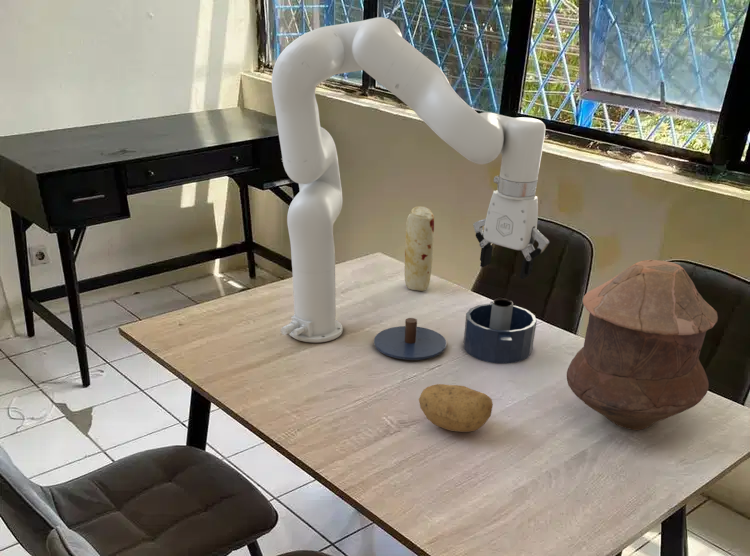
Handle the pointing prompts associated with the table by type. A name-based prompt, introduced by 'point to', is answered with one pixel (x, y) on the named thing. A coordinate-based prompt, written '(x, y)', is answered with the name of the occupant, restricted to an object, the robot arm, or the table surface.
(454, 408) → the potato
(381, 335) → the lid
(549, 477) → the table surface
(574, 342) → the table surface
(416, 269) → the food model
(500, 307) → the grey tube
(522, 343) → the pot
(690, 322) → the pottery vessel
